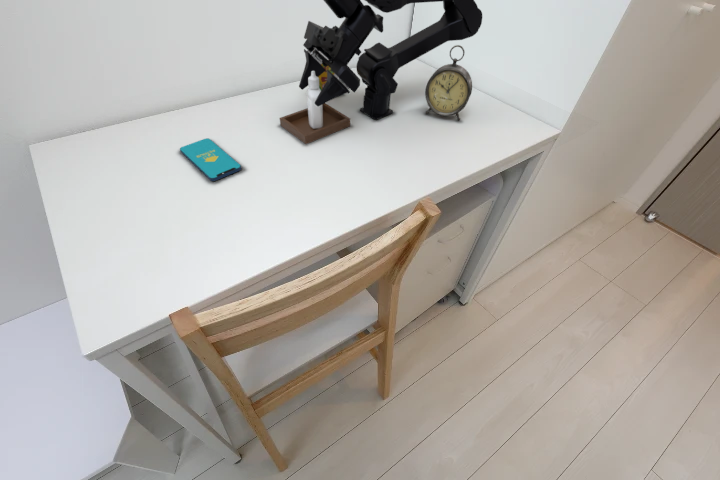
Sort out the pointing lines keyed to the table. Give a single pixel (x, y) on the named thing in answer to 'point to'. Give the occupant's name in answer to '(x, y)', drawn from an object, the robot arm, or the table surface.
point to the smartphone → (210, 159)
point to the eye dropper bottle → (313, 110)
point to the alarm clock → (449, 89)
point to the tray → (305, 133)
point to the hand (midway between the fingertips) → (308, 96)
